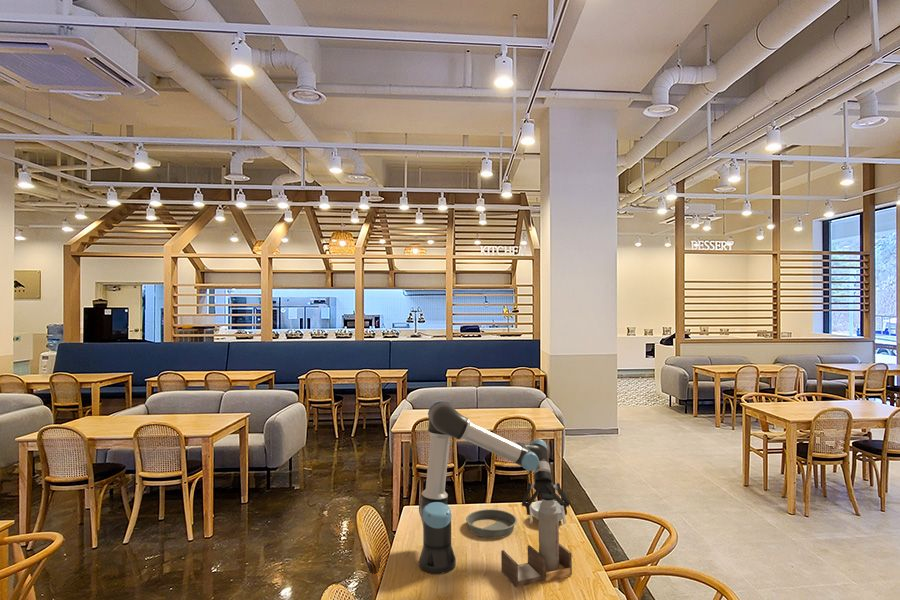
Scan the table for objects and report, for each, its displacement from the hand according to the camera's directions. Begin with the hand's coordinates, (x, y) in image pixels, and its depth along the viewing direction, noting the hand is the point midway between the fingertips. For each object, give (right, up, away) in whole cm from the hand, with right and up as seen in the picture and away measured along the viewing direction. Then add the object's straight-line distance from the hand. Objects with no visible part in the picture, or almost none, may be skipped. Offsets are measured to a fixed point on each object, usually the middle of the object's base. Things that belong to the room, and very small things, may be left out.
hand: (548, 522), depth 204 cm
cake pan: (-20, -19, +35) cm, 45 cm away
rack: (-6, -17, -7) cm, 19 cm away
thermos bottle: (-1, -16, -5) cm, 16 cm away
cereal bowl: (+9, -19, +43) cm, 48 cm away
